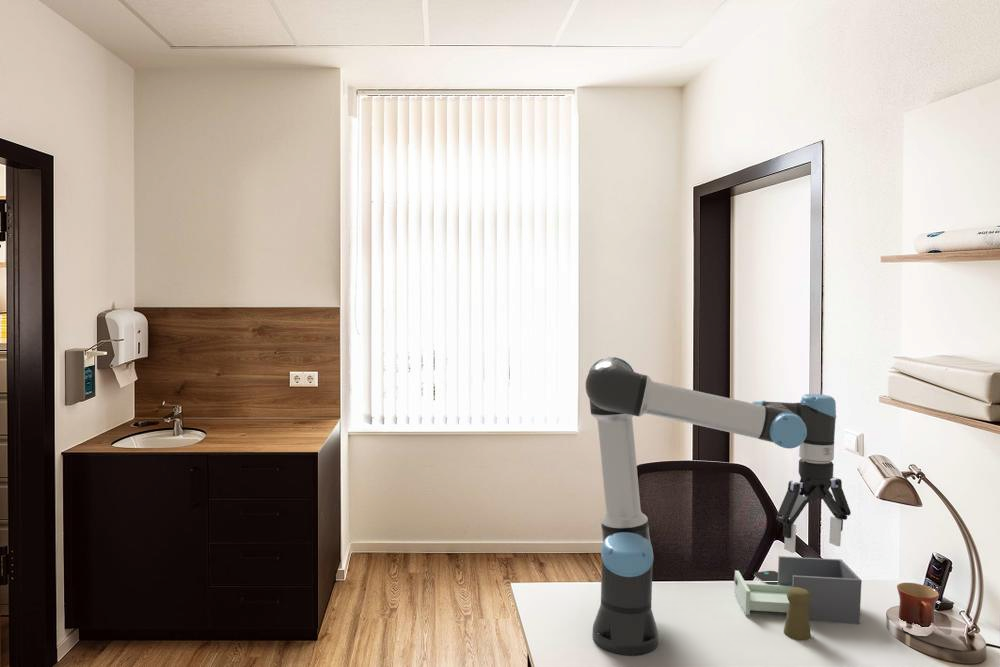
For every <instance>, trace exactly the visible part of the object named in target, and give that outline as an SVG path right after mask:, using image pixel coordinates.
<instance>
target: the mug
mask: <svg viewBox="0 0 1000 667" xmlns="http://www.w3.org/2000/svg"><path fill="white" fill-rule="evenodd" d="M896 588H897V593H898V595H899V606H898V617H899V618H900V619H901V620H903V621H909V622H912V623H914V624H918V625H920V626H921V627H929V626H930V625H931V623H934V624H935V609H936V608H935V607H936V603H937V601H938V599H939V597H940V593H939V592H938V590H936V589H935V588H933V587H930V586H927V585H924V584H921V583H916V582H901V583H898V584H897V585H896Z"/></svg>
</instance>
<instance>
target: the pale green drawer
mask: <svg viewBox="0 0 1000 667" xmlns="http://www.w3.org/2000/svg"><path fill="white" fill-rule="evenodd" d="M733 582H734V586H733V587H734V589H733V590H734V591H733V593H734V594H735V596H736V599H737V600H738V603H739V604H740V606H741V608H742V610H743V613H744V615H747V616H748V615H749V616H750V614H751V613H750V612H751V611H755V612H756V611H758V612H773V613H774V612H775V613H787V611H788V606H789V601H788V598H787V592H788V590H789V589H790V588H792V586H784V585H767V584H765V583H764V584H762V583H749V582H748V583H747V582H746V581H745V579H744V578H743V576H742V574H741V572H740V570H734V577H733Z"/></svg>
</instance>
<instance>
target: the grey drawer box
mask: <svg viewBox="0 0 1000 667" xmlns="http://www.w3.org/2000/svg"><path fill="white" fill-rule="evenodd" d="M777 561H778V566H777V572H778V585H784V586H792V588H793V587H799V588H803V589H805V590H807V591H808V592H809V593H810V597H811V601H810V603H809V604H808V612H809V622H823V623H836V624H837V623H841V624H857V625H860V623H861V621H860V620H861V618H860V617H861V600H862V598H861V597H862V579H861V578H860V577H859V576H858V574H856V573H855V572H854V571H853V570H852V569H851V568H850V567H849V566H848V565H847V564H846V562H844V561H843V559H839V558H838V559H837V558H821V557H820V558H819V557H802V556H801V557H799V556H783V555H782V556H780V555H778V560H777Z"/></svg>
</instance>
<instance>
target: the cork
mask: <svg viewBox="0 0 1000 667" xmlns="http://www.w3.org/2000/svg"><path fill="white" fill-rule="evenodd" d="M787 598H788V601H789V606H788V611H787V612H786V619H785V621H784V622H785V624H784V627H783V634H784V635H785V636H786V637H787V638H789V639H791V640H796V641H801V642H802V641H803V642H806V641H808V640H811V638H812V634H811V624H810V623H811V621H809V612H808V604H809V603H810V601H811V597H810V593H809V592H808V591H807V590H805V589H803V588H799V587H793V588H790V589H789V590H788V592H787Z"/></svg>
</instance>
